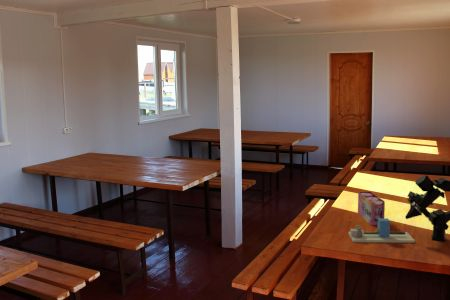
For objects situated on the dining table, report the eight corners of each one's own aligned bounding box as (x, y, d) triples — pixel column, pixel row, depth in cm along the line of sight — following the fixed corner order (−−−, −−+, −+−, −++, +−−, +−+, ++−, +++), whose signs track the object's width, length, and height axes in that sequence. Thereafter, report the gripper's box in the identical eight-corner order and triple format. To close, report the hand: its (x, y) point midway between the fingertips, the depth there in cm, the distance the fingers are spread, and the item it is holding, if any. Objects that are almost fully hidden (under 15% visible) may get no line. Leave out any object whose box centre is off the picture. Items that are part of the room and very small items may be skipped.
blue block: (387, 233, 242) (387, 218, 241) (389, 236, 238) (390, 221, 237) (377, 233, 243) (377, 218, 241) (379, 236, 238) (380, 221, 237)
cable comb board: (406, 234, 246) (407, 223, 245) (414, 242, 234) (415, 230, 233) (348, 233, 248) (348, 222, 246) (353, 242, 236) (353, 230, 235)
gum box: (385, 226, 259) (386, 202, 257) (371, 226, 259) (372, 203, 257) (369, 213, 283) (370, 191, 280) (357, 213, 282) (357, 191, 280)
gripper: (412, 182, 244) (389, 202, 247) (425, 191, 226) (400, 213, 228) (426, 196, 245) (404, 216, 247) (440, 207, 227) (416, 228, 229)
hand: (405, 218), depth 238 cm, fingers closed
